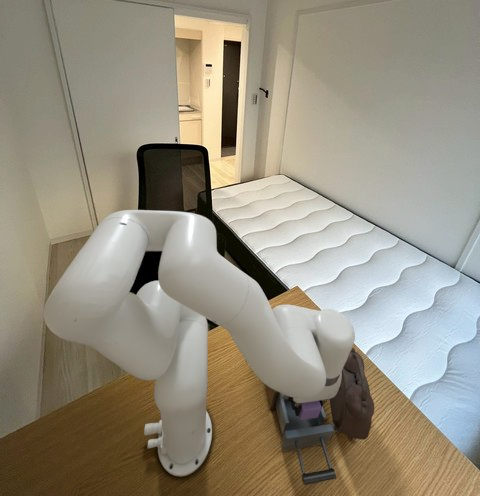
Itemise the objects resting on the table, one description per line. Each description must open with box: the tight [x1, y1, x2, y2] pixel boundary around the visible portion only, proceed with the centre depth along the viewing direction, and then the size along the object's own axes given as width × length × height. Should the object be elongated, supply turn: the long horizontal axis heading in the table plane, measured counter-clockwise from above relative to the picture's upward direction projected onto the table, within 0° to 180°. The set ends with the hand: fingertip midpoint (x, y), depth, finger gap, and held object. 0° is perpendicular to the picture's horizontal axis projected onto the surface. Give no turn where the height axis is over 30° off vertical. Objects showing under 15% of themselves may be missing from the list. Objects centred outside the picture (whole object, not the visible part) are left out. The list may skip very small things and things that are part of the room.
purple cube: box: [299, 401, 322, 420], centre depth 57 cm, size 4×4×4 cm
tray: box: [275, 393, 337, 486], centre depth 59 cm, size 20×11×7 cm, turn 8°
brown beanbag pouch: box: [329, 347, 376, 441], centre depth 60 cm, size 15×7×20 cm, turn 168°
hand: (305, 405), depth 58 cm, fingers closed on purple cube, 4 cm apart
